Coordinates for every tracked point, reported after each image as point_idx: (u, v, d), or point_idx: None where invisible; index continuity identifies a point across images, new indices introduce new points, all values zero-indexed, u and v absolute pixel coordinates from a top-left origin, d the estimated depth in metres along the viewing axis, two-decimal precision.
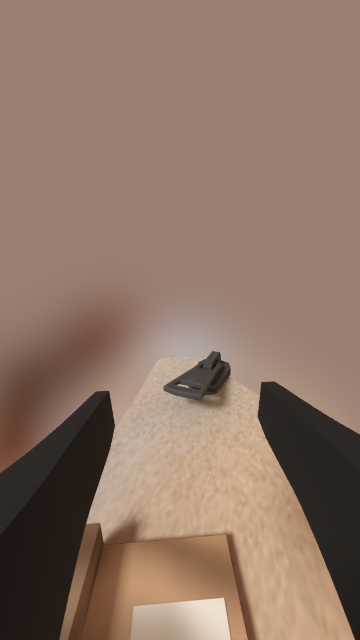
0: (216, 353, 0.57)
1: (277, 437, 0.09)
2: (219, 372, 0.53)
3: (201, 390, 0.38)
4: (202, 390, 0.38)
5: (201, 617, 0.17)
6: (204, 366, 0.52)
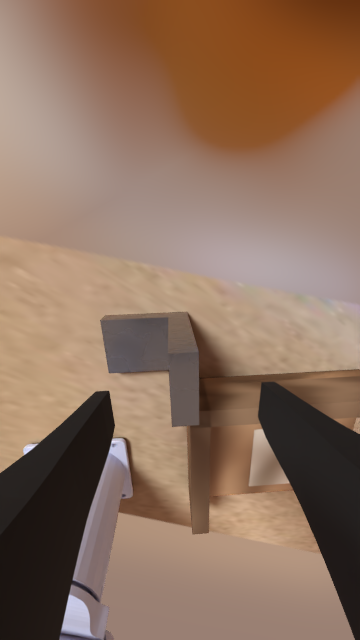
0: None
1: (277, 437, 0.09)
2: None
3: None
4: None
5: None
6: None
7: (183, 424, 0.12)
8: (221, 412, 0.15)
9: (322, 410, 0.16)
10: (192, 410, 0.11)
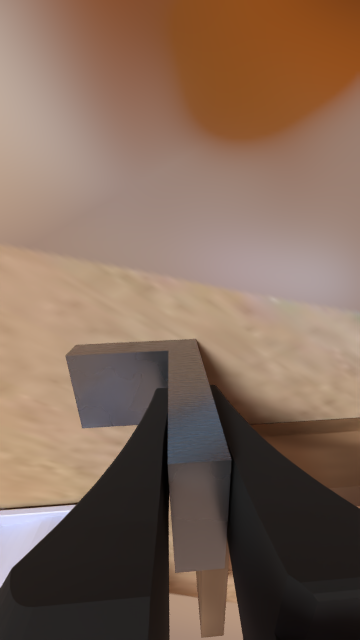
0: None
1: None
2: None
3: None
4: None
5: None
6: None
7: (196, 568, 0.06)
8: None
9: None
10: (213, 549, 0.06)
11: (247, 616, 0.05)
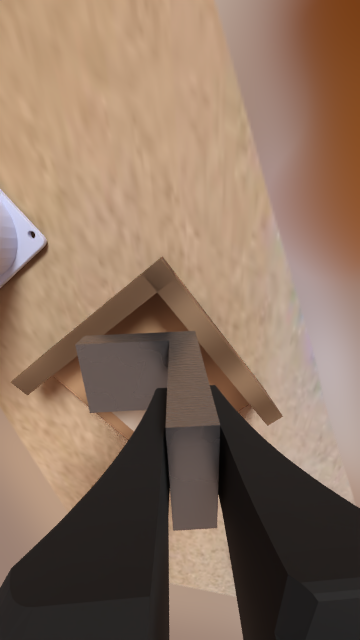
0: None
1: None
2: None
3: None
4: None
5: None
6: None
7: (191, 527, 0.07)
8: (180, 289, 0.14)
9: (237, 370, 0.16)
10: (206, 509, 0.07)
11: (247, 616, 0.05)
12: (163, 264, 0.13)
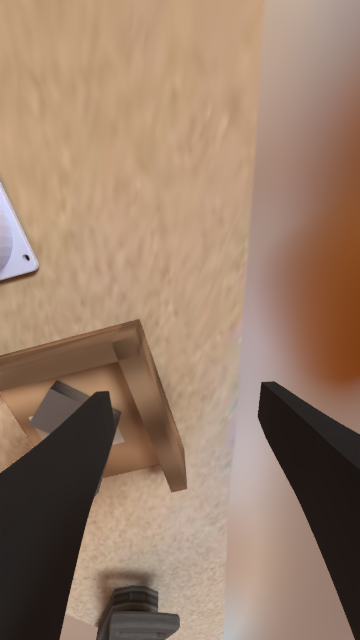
0: None
1: (277, 437, 0.09)
2: None
3: (113, 631, 0.23)
4: (112, 631, 0.23)
5: None
6: None
7: None
8: (139, 366, 0.15)
9: (162, 442, 0.18)
10: None
11: None
12: (132, 342, 0.15)
